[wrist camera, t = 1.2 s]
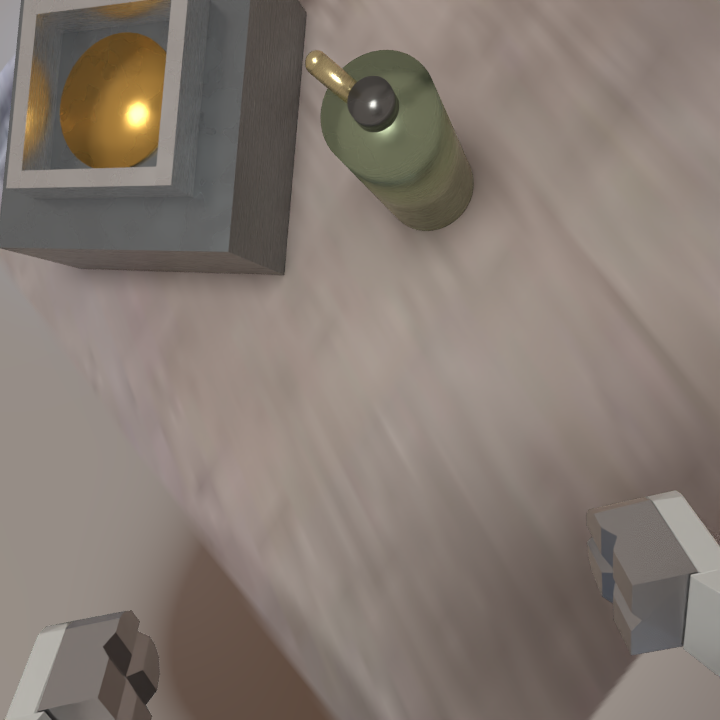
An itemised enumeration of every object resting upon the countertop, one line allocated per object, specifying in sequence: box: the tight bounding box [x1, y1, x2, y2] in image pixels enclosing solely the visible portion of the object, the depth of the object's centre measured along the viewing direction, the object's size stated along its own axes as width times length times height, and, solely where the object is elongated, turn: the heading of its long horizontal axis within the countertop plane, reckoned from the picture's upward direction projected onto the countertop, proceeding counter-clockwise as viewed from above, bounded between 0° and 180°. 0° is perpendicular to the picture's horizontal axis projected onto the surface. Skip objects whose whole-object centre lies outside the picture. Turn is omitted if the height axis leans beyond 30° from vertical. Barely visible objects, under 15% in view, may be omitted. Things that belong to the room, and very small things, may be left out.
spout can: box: [305, 50, 474, 231], centre depth 32 cm, size 6×5×13 cm
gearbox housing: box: [0, 0, 306, 275], centre depth 39 cm, size 19×16×9 cm
